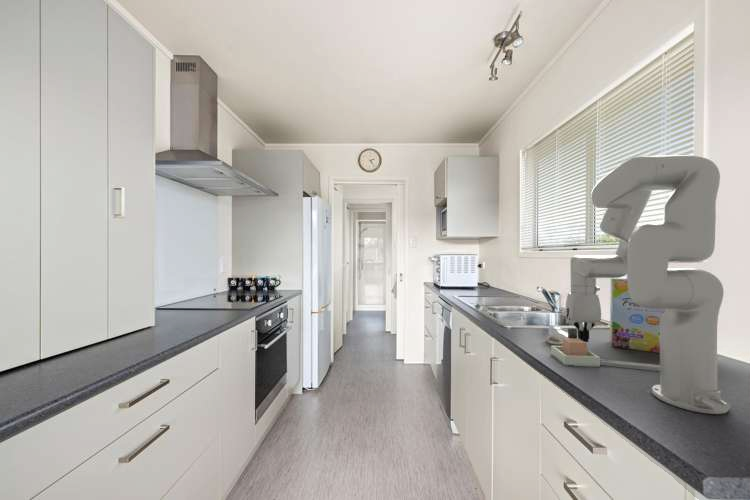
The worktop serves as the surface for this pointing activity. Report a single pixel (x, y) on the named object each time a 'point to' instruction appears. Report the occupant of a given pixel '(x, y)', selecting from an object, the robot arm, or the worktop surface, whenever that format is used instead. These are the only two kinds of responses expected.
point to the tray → (575, 358)
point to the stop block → (574, 347)
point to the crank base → (553, 342)
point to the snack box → (632, 320)
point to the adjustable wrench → (630, 365)
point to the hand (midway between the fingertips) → (583, 340)
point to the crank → (561, 333)
